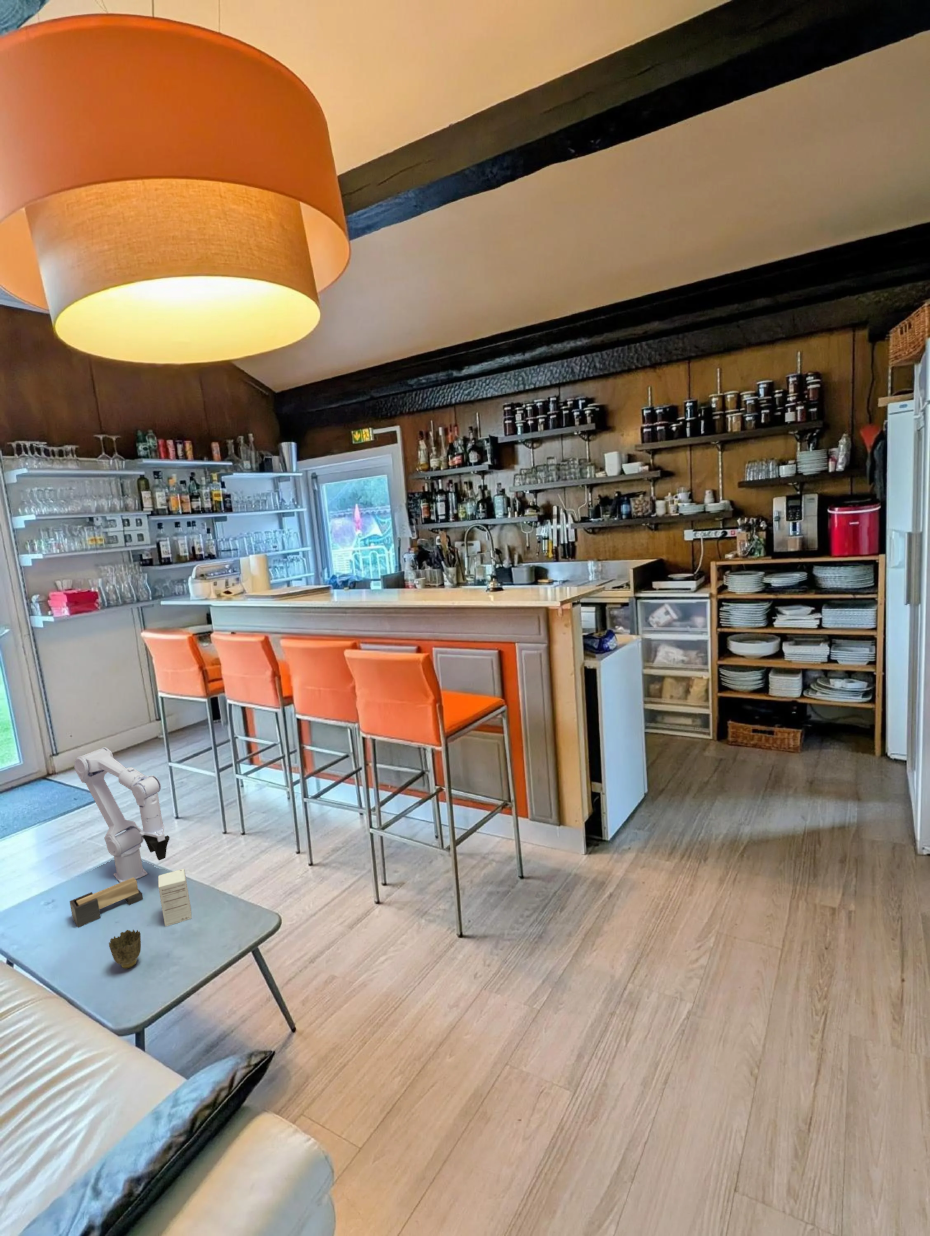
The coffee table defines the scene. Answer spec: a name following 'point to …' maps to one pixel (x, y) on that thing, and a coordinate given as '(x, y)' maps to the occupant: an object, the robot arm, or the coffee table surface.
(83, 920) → the dark grey open box
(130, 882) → the rail
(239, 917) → the coffee table surface
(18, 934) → the coffee table surface
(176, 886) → the supplement box
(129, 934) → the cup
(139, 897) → the rest block
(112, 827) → the robot arm
